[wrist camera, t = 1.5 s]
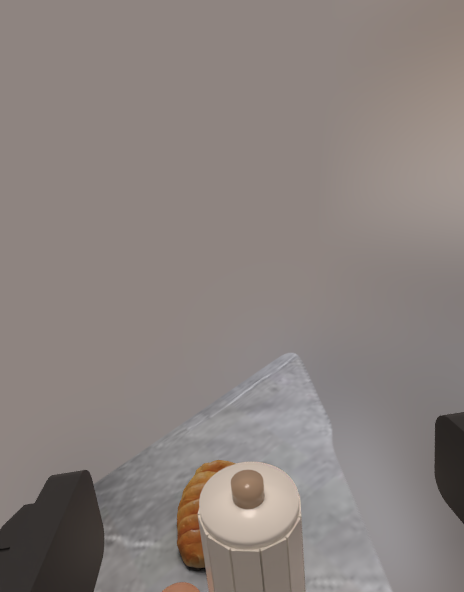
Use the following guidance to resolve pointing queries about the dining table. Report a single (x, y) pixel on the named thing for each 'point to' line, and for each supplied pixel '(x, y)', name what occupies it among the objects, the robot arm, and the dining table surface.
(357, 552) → the dining table surface
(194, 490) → the pastry
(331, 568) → the dining table surface
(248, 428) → the dining table surface
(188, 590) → the salmon brown knob
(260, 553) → the ribbed lidded canister
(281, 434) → the dining table surface
